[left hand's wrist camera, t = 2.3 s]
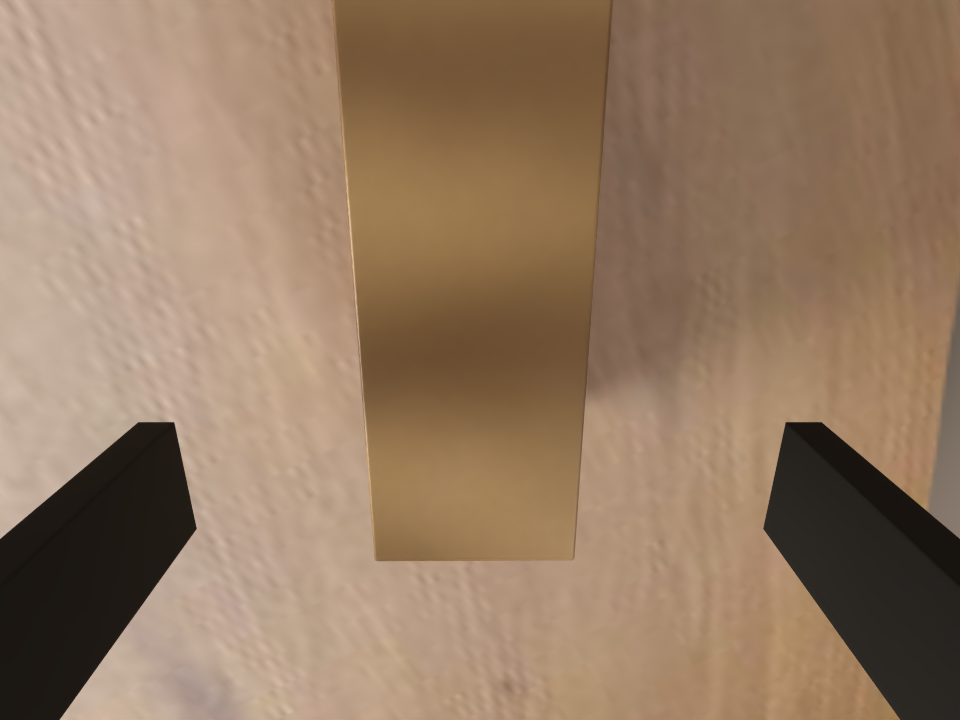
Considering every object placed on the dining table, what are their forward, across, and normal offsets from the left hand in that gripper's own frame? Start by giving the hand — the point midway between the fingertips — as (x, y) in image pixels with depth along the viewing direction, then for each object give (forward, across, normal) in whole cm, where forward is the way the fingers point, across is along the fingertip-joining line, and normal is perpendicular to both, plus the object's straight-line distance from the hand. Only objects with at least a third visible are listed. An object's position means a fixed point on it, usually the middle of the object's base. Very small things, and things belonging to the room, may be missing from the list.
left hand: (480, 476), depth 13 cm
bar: (+11, 0, -7) cm, 13 cm away
